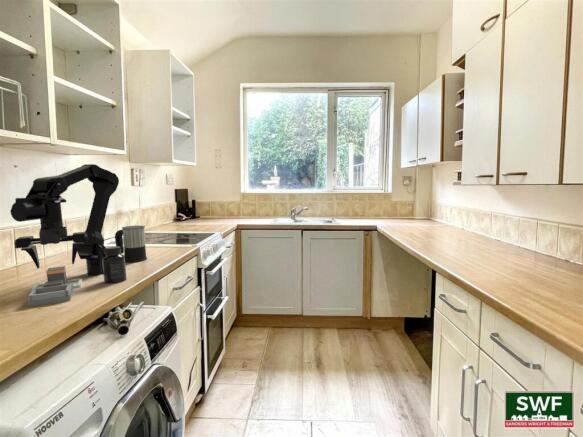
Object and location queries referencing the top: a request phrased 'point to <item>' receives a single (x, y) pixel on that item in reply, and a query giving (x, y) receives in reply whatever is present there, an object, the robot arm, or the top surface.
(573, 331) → the top surface
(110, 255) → the supplement bottle
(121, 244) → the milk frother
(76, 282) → the tray
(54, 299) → the grey storage bin
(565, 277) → the top surface
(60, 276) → the plug
